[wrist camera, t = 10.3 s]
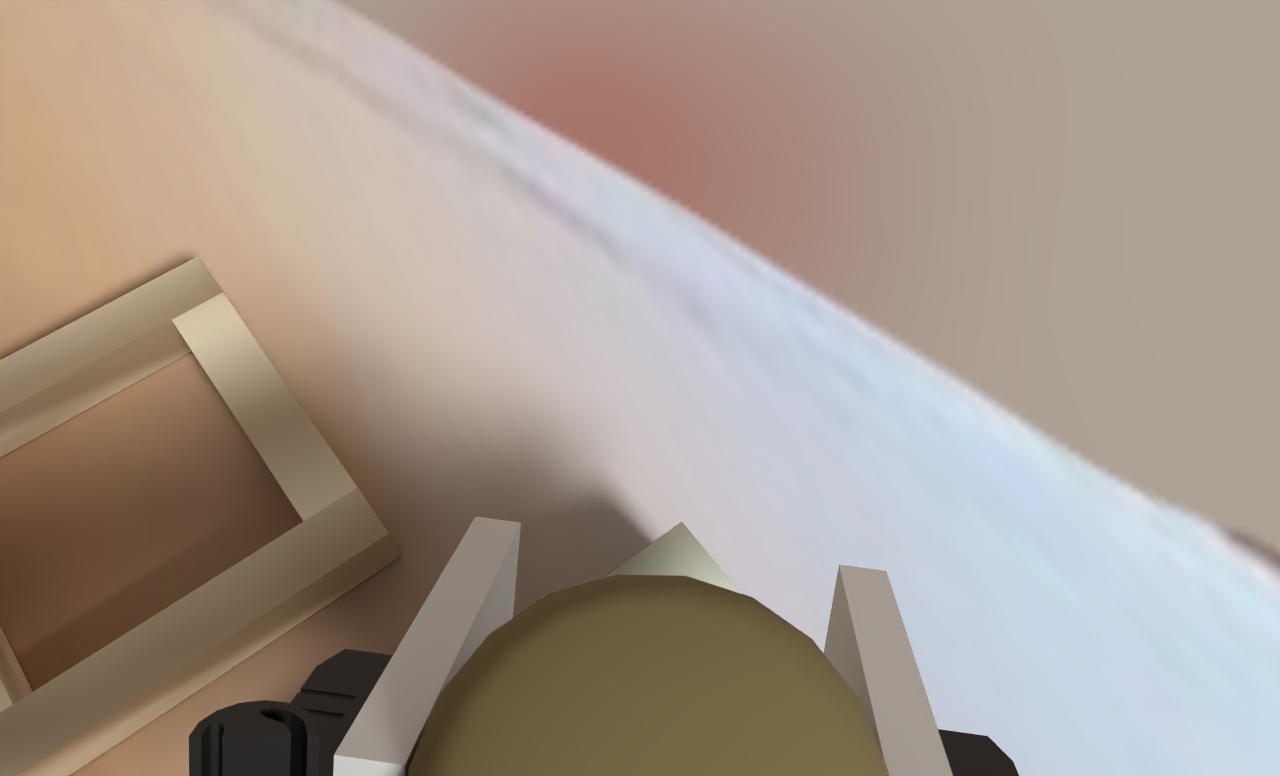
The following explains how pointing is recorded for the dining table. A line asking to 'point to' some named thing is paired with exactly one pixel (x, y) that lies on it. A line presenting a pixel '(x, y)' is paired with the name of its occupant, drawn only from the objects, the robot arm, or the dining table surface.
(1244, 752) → the dining table surface
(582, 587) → the cork
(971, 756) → the robot arm
